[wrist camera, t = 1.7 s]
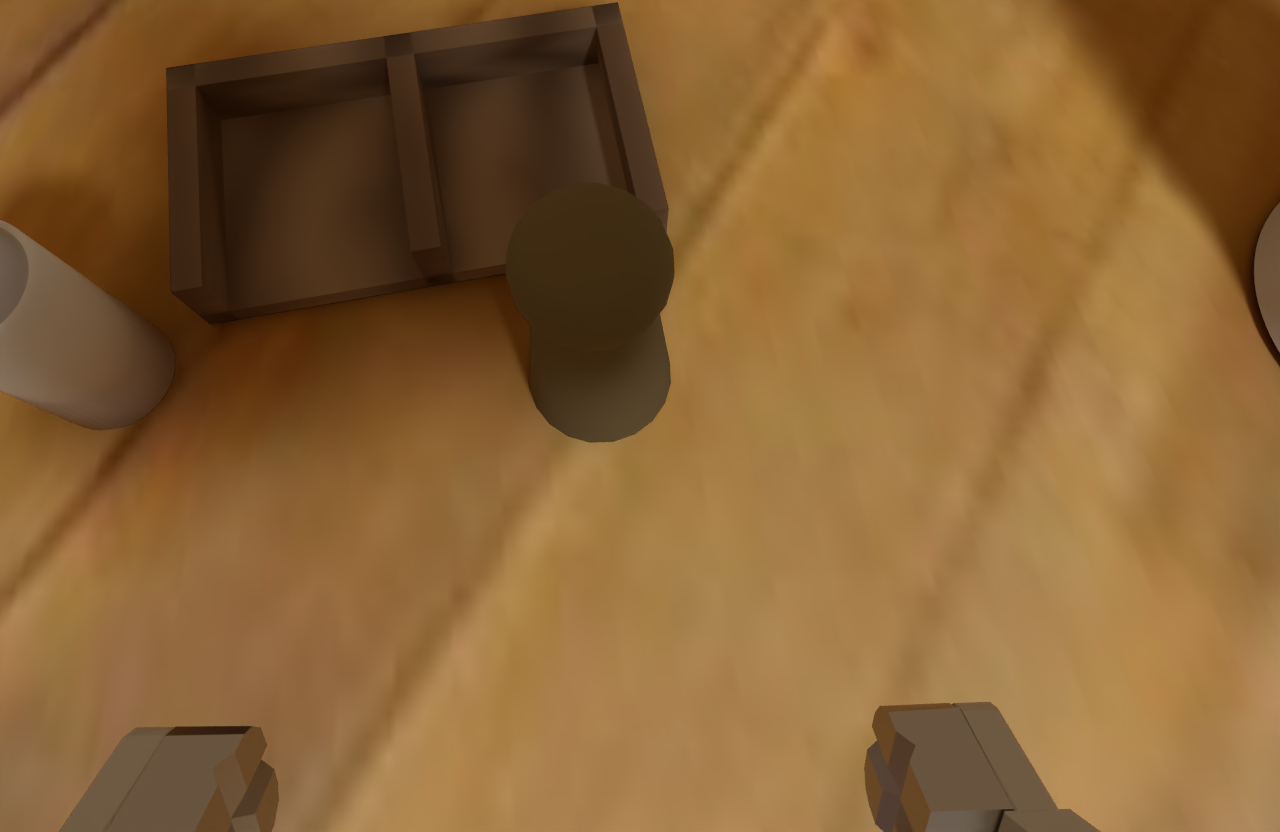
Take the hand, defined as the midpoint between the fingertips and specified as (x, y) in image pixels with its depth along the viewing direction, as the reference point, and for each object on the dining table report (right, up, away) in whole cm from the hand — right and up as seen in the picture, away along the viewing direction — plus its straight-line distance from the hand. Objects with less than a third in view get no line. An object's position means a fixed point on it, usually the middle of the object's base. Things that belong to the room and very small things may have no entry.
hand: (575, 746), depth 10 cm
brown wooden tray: (-9, +15, +25) cm, 31 cm away
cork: (-1, +6, +22) cm, 23 cm away
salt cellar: (-21, +6, +22) cm, 31 cm away
